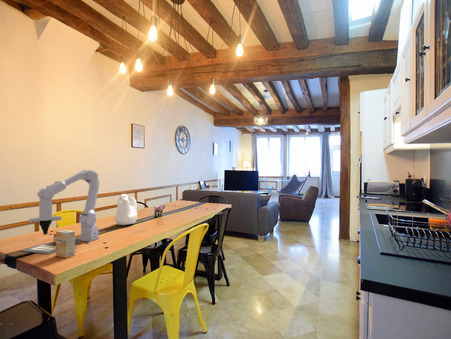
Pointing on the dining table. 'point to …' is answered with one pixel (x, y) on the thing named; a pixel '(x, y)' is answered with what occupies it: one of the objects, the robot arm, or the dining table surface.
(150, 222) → the dining table surface
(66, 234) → the supplement box
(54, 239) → the tan wooden bar
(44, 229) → the robot arm
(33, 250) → the label plate
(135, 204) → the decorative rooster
